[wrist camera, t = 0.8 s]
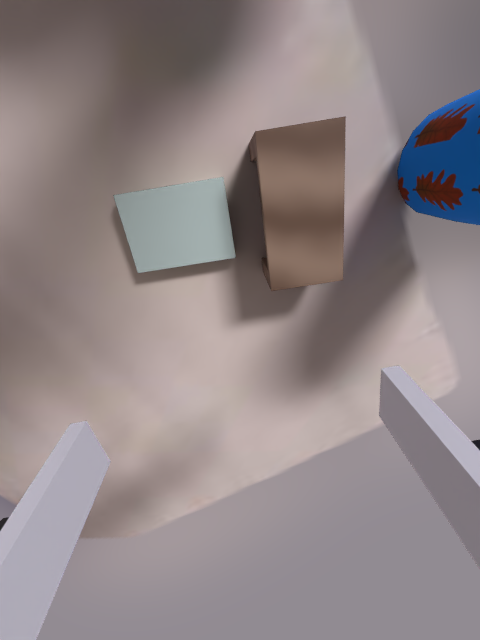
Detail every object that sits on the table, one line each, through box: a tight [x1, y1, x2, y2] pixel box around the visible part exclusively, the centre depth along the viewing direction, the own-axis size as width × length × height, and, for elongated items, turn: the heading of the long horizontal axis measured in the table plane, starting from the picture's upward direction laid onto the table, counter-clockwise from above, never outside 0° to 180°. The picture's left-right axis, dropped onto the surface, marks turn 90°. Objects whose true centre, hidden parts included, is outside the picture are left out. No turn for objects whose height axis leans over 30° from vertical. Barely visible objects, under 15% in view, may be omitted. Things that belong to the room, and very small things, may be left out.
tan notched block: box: [249, 116, 346, 291], centre depth 28 cm, size 13×7×7 cm, turn 8°
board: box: [113, 177, 236, 273], centre depth 30 cm, size 8×11×2 cm
